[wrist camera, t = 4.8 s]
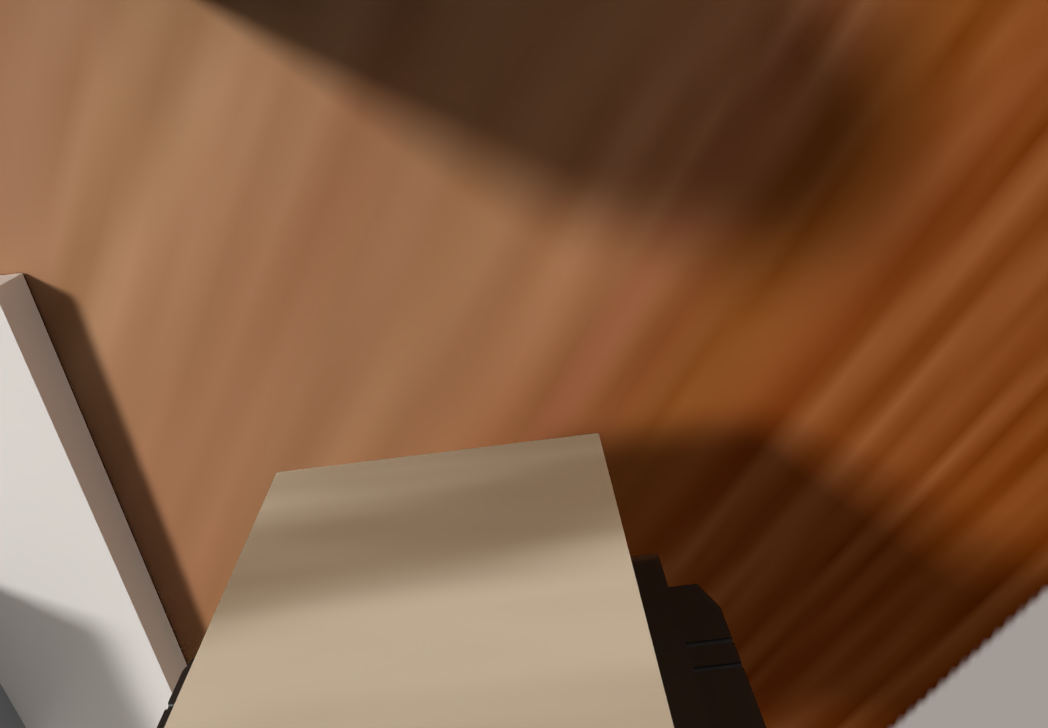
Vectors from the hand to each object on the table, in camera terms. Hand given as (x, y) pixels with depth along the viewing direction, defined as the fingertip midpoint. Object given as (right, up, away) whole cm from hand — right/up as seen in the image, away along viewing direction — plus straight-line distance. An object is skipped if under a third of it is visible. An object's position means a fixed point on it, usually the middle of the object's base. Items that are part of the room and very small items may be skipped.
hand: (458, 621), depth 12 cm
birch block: (0, 0, +1) cm, 1 cm away
